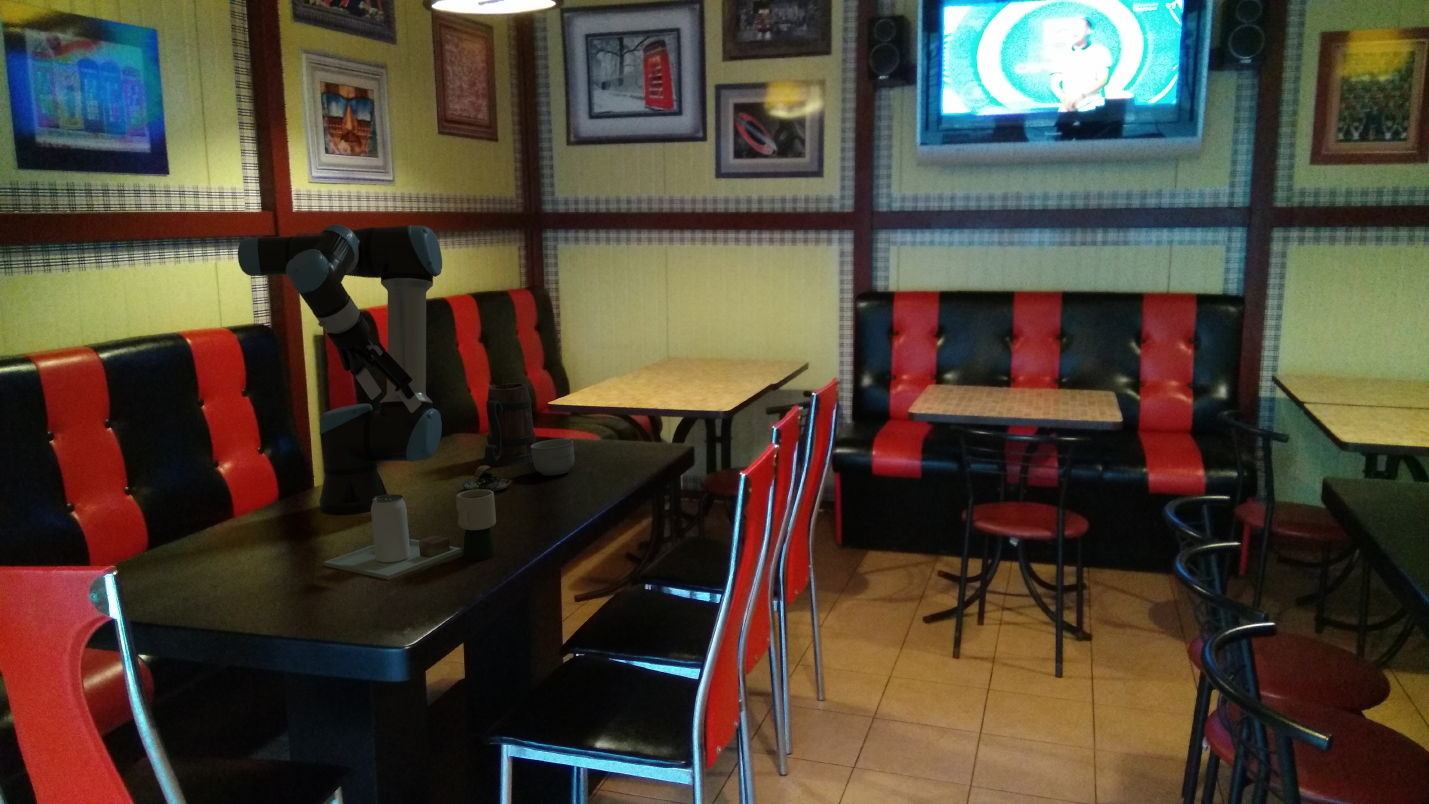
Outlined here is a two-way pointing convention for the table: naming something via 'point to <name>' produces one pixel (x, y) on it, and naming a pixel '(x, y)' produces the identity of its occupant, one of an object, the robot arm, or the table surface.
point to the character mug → (477, 523)
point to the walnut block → (433, 546)
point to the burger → (486, 481)
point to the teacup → (553, 456)
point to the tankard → (509, 425)
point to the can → (390, 528)
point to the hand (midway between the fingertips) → (395, 401)
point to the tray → (368, 565)
